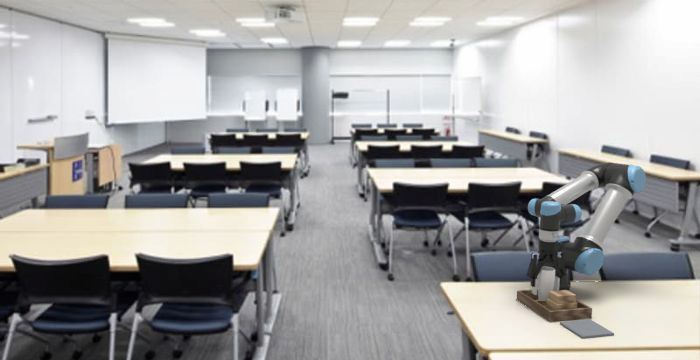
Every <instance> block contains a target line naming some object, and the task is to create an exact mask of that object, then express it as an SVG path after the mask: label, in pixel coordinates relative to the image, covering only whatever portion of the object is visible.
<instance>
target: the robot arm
mask: <svg viewBox="0 0 700 360" xmlns="http://www.w3.org/2000/svg"><path fill="white" fill-rule="evenodd" d="M646 177H647V176H646V173H645V170H644V168H642V167H641V166H640V165H639V166H638V165H634V164H627V163H626V164H625V163H615V162H602V163H598V164H596V165H594V166H591V167H588V168H587V169H585V170H584V171H582V172H580V175H579V176H578V177H576V178H575V179H573V180H571V181H568V182H567V183H566V184H564V185H563V186H561V187H559V188H558V189H556V190H555V191H552V192H551V193H550V194H547V195H545V196H544V197H543V198H541V199H540V198H532V199H531V200H529V202H528V205H527V211H528V213H529V214H530V215H531V216H535V217H536V218H539V231H538V232H539V233H538V238H539V239H538V246H537V247H538V252H537V253H533V252H532V253H530V257H531V258H530V261H529V265H528V269H527V271H526V272H527V273H526V277H527V278H529V279H530V286H531V290H532V294H534V295H537V289H538V279H537V277H538V274H539V272H540V270H541V268H542V267H543V266H547V267H552V268H554V269H555V282H554V289H553V291H559V290H568V291H570V290H571V289H570V288H571V287H572V282H571V280H570V276H569V272H568V270H570V271H573V272H576V273H579V274H582V275H585V276H586V275H587V276H591V275H594V274H596V273H598V272H599V270H600V269H601V268H602V266H603V264H604V259H605V255H604V252H603V251H604V248H603V246H602V245H603V243H604V242H605V240H606V237H607V236H608V234H609V231H611V228H612V226H613V225H614V223H615V221H616V220H617V218H618V216H619V214H620V212H621V210H622V209H623V206H624V205H625V204H626V201H628V200H631V199H632V198H633V196H634V195H635V194H640V193H642V192H643V191H644V189H645V187H646V183H647V178H646ZM599 188H605V190H606V191H605V193H604V196H603V197H602V199H601V201H600V203H599V204H598V206H597V207H596V210H595V211H594V213H593V215H592V217H591V218H590V221H588V224H587V225H586V228H585V229H584V231H583V233H582V234H581V235H578V236H575V240H574V241H573V242H572V241H571V239H570V237H569V236H566V235H560V225H565V224H574V223H576V222H578V221H580V220H581V218H582V214H583V213H582V209H581V207H580V206H579V205H578V204H575V203H574V204H573V203H572V202H573V201H575V200H576V199H578V198H579V197H581V196H582V195H584V194H586V193H587V192H589V191H595V190H597V189H599Z"/></svg>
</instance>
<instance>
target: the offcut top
mask: <svg viewBox="0 0 700 360" xmlns="http://www.w3.org/2000/svg"><path fill="white" fill-rule="evenodd" d="M548 299H550V300H552V301H553V302H555V303H557V304H563V303H575V302H576V300H577V294H575V293H573V292H571V291H570V290H560V291H549V296H548Z"/></svg>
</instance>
